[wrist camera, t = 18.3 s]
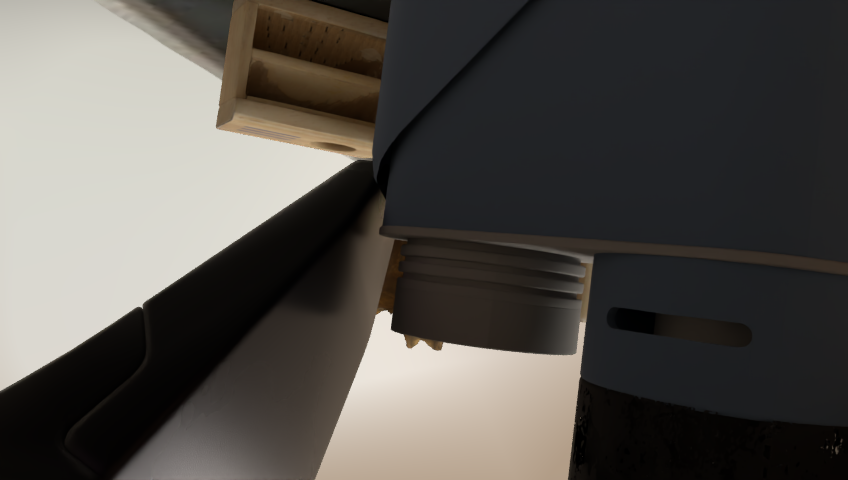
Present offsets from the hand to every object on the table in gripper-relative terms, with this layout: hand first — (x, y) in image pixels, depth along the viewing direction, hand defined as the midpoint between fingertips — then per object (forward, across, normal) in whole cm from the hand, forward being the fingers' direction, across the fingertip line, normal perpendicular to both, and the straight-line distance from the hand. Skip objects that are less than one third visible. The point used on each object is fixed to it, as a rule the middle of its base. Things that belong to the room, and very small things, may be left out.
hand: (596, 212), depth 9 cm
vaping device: (+4, 0, -6) cm, 7 cm away
